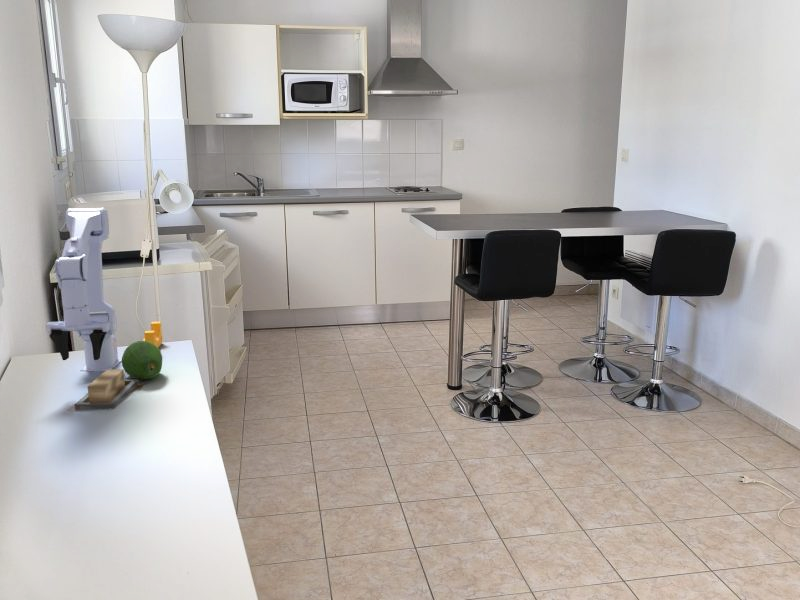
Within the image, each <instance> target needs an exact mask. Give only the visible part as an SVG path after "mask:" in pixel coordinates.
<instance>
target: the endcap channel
mask: <svg viewBox="0 0 800 600" xmlns="http://www.w3.org/2000/svg"><path fill="white" fill-rule="evenodd" d="M124 379H125V378H124ZM145 385H146V384H145V383H140V384H139V379H136V378H133V379H128V378H127V379H125V388H124V389H123V390H122V391H121V392H120V393H119V394H118V395H117V396H116V397H115V398H114V399H112V400H111V401H110V402H109V403H89V396H88V392H87V393H86V394H84V395H83V396H82V397H81V398H80V399H79V400H77V402H75V404H73V405H71V407H70V408H69V409H68V410H67V412H75V411H87V410H89V411H90V410H91V411H92V410H93V411H94V410H113V409H114V408H116V407H117V406H118V405H119V404H120V403H121V402H122V401H123V400H125V399H126V398H127V397H128V395H130V394H132V393H137V392H139V391H140V390H141V389H143V388H144V386H145Z"/></svg>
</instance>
